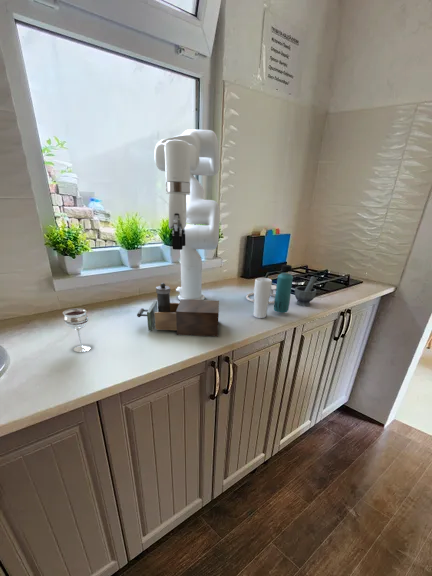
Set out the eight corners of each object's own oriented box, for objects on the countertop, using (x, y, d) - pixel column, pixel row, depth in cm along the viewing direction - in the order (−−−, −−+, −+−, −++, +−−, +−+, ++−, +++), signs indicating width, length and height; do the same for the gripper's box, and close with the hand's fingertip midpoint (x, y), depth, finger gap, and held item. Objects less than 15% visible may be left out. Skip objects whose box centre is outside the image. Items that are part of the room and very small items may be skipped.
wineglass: (70, 345, 103) (61, 309, 97) (92, 343, 106) (85, 307, 100) (71, 354, 98) (62, 316, 92) (94, 351, 101) (87, 314, 94)
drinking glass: (267, 319, 131) (271, 282, 123) (250, 318, 132) (254, 281, 124) (268, 314, 136) (272, 278, 128) (252, 313, 137) (255, 277, 130)
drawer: (135, 330, 114) (133, 311, 111) (143, 317, 126) (142, 300, 122) (186, 332, 114) (185, 313, 111) (189, 319, 126) (189, 302, 122)
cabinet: (176, 334, 114) (176, 311, 110) (181, 320, 127) (180, 299, 122) (217, 336, 114) (218, 313, 110) (218, 322, 127) (219, 300, 122)
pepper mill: (155, 322, 119) (152, 283, 111) (164, 318, 122) (162, 280, 115) (165, 325, 116) (162, 285, 109) (174, 321, 120) (173, 282, 113)
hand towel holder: (239, 290, 152) (261, 282, 166) (239, 299, 154) (261, 291, 168) (271, 297, 143) (291, 288, 157) (270, 306, 145) (290, 297, 160)
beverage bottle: (288, 312, 140) (296, 264, 129) (286, 317, 134) (294, 267, 124) (274, 310, 141) (280, 262, 131) (271, 315, 136) (277, 265, 126)
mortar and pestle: (305, 308, 145) (310, 281, 139) (288, 303, 151) (292, 277, 145) (319, 303, 152) (324, 277, 146) (302, 299, 158) (306, 274, 152)
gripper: (170, 189, 109) (171, 244, 117) (161, 187, 94) (164, 250, 103) (192, 190, 109) (192, 244, 118) (187, 188, 94) (187, 251, 103)
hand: (179, 247), depth 110 cm, fingers open, 9 cm apart
